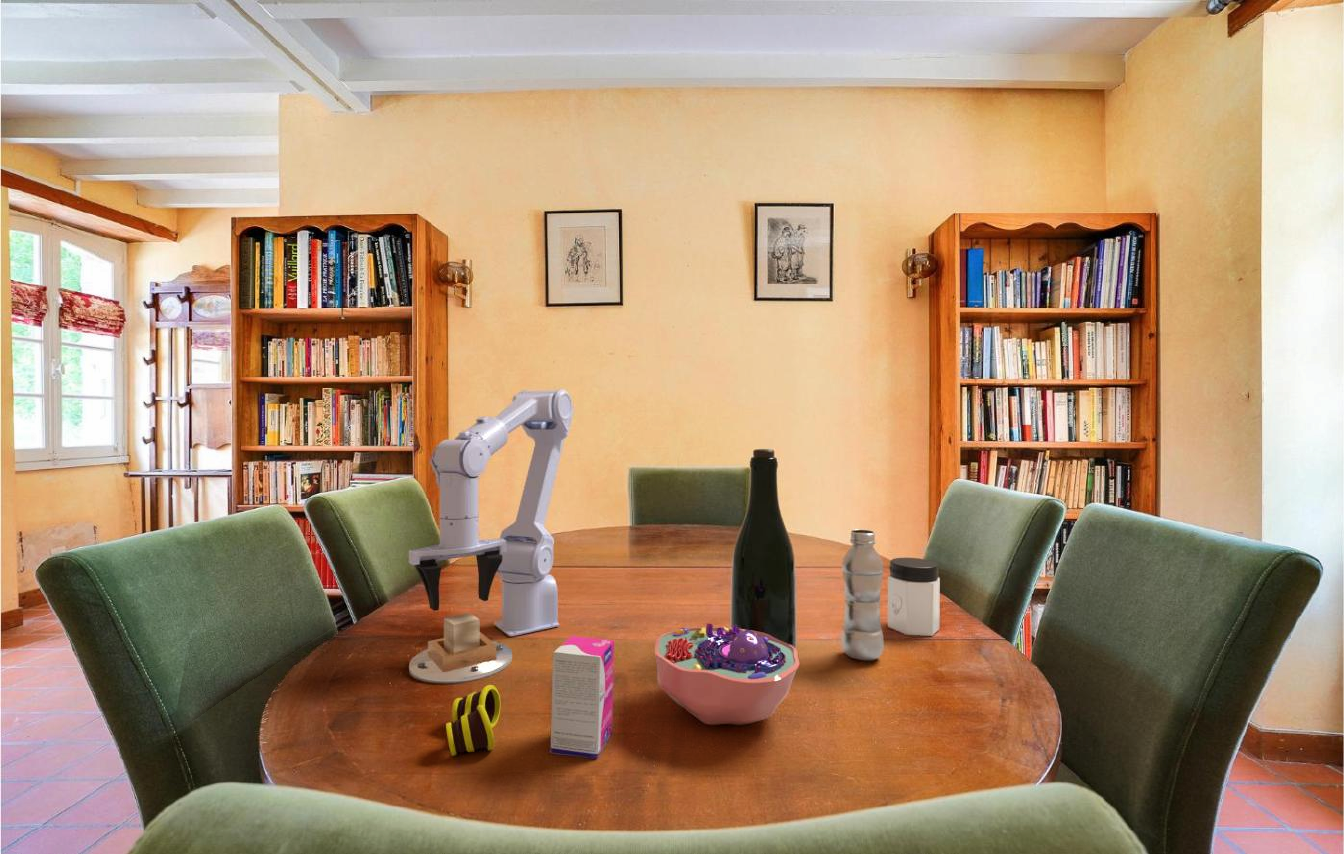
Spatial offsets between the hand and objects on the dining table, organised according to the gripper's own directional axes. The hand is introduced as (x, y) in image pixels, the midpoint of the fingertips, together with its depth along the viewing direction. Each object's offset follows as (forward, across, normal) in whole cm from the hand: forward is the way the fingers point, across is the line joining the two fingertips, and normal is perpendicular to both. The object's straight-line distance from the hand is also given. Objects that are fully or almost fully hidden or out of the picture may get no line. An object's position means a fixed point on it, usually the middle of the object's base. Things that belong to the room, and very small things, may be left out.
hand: (459, 604), depth 94 cm
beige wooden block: (+8, 0, +1) cm, 8 cm away
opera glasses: (+9, +7, +24) cm, 26 cm away
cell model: (+9, -20, +38) cm, 44 cm away
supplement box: (+9, -2, +33) cm, 34 cm away
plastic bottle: (+9, -50, +38) cm, 64 cm away
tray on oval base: (+9, 0, +1) cm, 9 cm away
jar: (+9, -69, +37) cm, 79 cm away
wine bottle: (+9, -39, +28) cm, 49 cm away
